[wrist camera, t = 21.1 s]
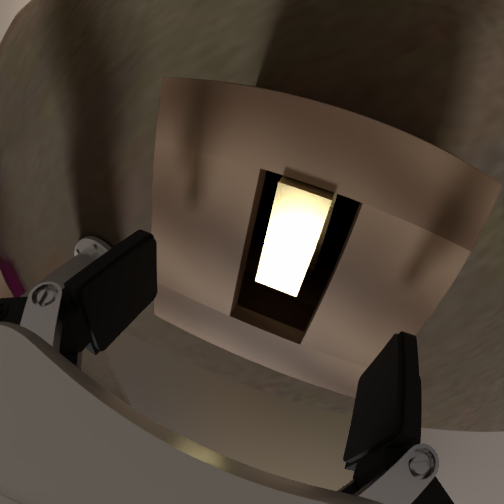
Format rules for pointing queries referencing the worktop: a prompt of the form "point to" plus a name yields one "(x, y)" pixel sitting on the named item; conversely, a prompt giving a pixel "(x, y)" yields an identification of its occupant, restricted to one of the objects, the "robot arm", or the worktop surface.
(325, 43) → the worktop surface
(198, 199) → the box
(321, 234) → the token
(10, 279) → the worktop surface
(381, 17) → the worktop surface
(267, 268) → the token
